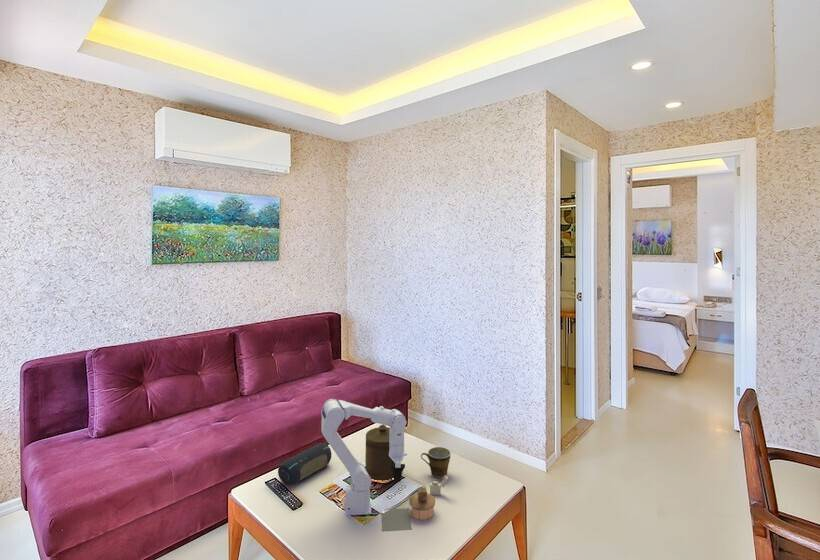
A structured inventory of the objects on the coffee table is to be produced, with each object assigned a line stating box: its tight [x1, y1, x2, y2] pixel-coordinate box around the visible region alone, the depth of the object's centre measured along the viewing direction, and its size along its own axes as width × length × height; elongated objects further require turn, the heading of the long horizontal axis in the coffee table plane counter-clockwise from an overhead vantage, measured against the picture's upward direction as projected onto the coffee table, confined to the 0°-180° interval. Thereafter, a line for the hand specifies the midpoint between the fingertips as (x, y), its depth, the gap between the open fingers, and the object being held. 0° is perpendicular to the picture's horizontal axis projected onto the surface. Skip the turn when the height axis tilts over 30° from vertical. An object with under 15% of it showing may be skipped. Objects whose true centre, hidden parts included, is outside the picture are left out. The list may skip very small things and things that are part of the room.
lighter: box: [429, 475, 449, 496], centre depth 168 cm, size 7×2×8 cm, turn 81°
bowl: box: [410, 506, 435, 520], centre depth 156 cm, size 8×8×4 cm
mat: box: [380, 507, 413, 532], centre depth 152 cm, size 10×12×1 cm
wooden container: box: [364, 424, 394, 481], centre depth 182 cm, size 15×15×22 cm
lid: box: [408, 486, 436, 511], centre depth 156 cm, size 10×10×5 cm
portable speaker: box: [277, 442, 333, 486], centre depth 183 cm, size 25×10×10 cm, turn 145°
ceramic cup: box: [420, 446, 452, 479], centre depth 182 cm, size 13×10×10 cm
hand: (396, 475), depth 163 cm, fingers open, 7 cm apart
